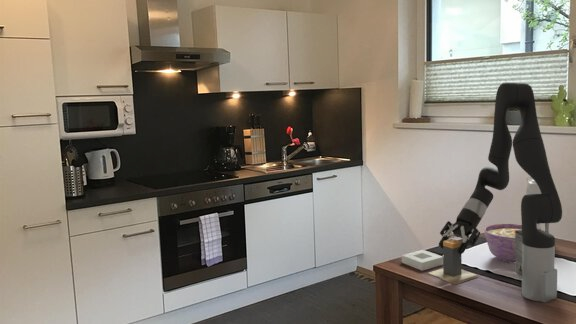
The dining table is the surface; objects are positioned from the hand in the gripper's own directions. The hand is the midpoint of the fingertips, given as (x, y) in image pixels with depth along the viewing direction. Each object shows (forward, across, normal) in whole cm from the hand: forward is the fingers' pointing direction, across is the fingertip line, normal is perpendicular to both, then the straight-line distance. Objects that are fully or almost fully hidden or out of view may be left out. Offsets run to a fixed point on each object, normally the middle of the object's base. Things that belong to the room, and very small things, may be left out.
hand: (449, 250), depth 181 cm
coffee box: (-9, +16, +24) cm, 30 cm away
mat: (+6, 0, +8) cm, 10 cm away
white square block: (+6, -15, +8) cm, 18 cm away
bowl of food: (-16, +1, +30) cm, 34 cm away
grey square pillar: (+6, 0, +8) cm, 9 cm away
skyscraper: (-35, -8, +49) cm, 61 cm away
